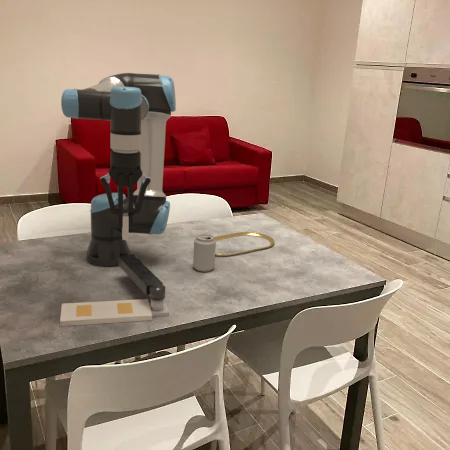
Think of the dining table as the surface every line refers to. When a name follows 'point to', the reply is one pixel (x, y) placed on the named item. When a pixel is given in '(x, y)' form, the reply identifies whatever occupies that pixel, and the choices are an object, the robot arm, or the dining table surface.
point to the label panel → (111, 311)
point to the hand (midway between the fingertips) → (125, 238)
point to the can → (204, 252)
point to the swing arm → (142, 276)
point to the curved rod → (244, 235)
